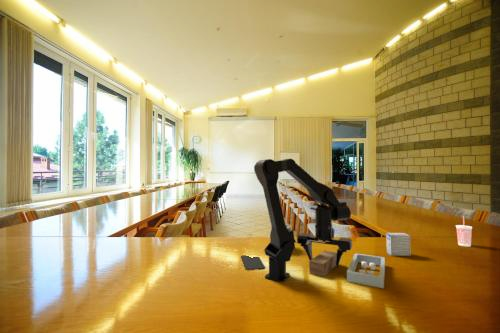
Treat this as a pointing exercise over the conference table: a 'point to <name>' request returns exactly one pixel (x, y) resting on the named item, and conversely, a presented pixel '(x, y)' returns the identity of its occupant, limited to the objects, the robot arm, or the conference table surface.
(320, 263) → the brown block
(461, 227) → the beverage cup
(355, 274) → the peg frame
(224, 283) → the conference table surface
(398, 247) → the medicine box
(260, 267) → the phone
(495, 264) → the conference table surface
